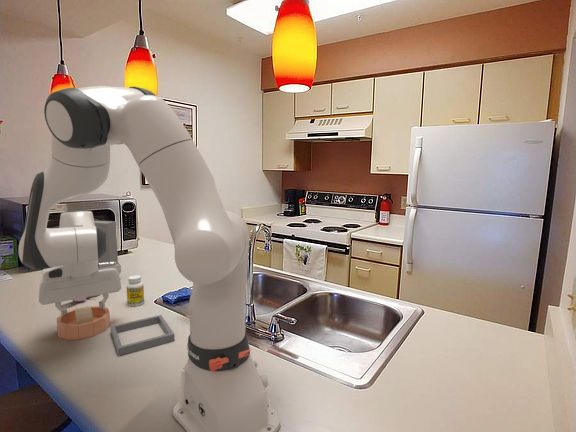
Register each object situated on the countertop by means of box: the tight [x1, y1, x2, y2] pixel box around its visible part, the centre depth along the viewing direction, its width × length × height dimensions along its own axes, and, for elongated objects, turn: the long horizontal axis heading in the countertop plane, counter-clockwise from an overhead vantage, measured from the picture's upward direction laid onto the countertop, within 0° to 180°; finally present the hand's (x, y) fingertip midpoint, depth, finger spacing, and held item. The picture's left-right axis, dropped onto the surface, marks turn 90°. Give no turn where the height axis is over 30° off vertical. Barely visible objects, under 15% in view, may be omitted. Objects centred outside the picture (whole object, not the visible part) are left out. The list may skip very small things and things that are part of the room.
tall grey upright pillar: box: [94, 220, 119, 268], centre depth 133 cm, size 14×6×25 cm, turn 84°
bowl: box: [56, 305, 111, 341], centre depth 97 cm, size 13×13×4 cm
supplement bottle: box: [126, 274, 145, 307], centre depth 115 cm, size 5×5×10 cm
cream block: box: [74, 305, 93, 324], centre depth 97 cm, size 5×4×4 cm
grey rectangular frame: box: [109, 314, 175, 357], centre depth 93 cm, size 14×14×2 cm
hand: (83, 311), depth 97 cm, fingers open, 8 cm apart
